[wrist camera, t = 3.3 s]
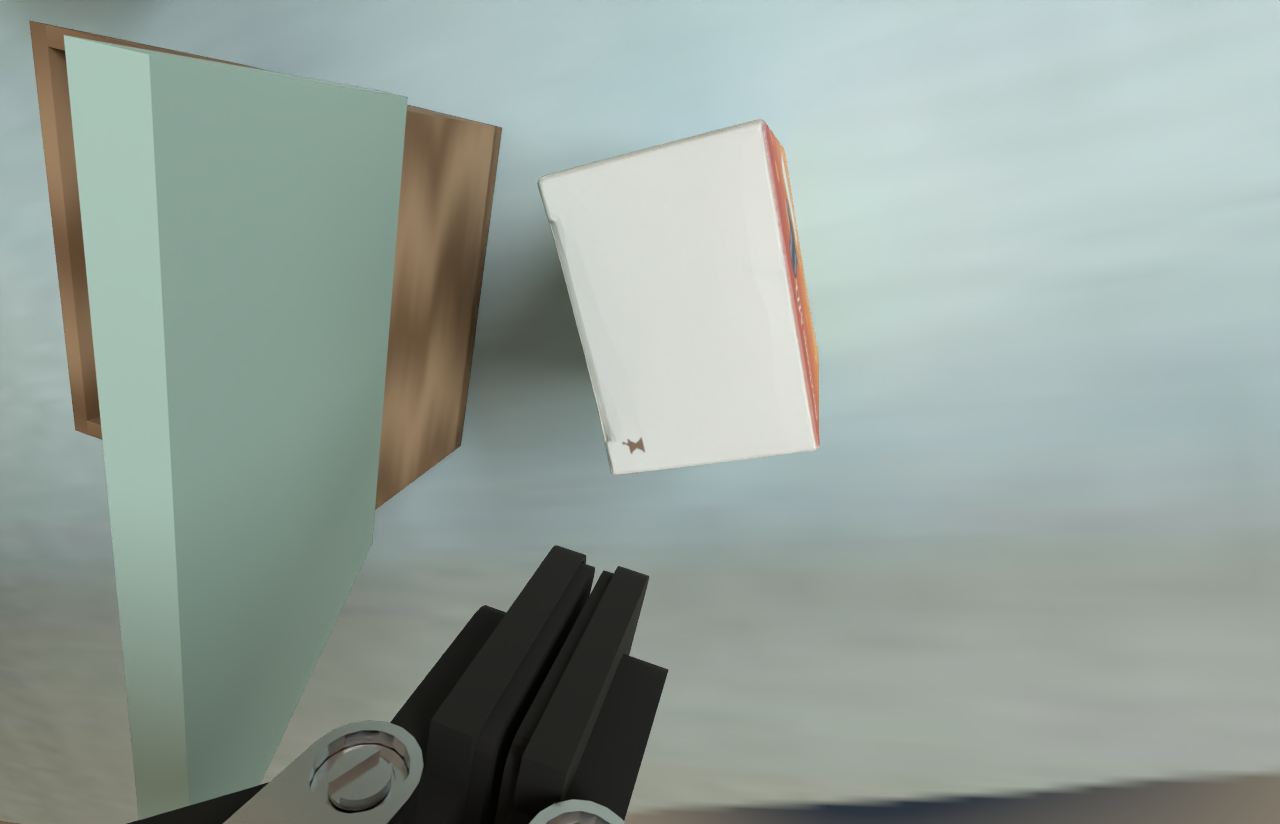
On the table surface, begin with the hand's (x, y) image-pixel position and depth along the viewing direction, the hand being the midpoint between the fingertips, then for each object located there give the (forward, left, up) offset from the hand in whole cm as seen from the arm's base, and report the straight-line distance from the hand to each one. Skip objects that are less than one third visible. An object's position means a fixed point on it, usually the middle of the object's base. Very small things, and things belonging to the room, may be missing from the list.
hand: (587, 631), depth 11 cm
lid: (0, -8, -3) cm, 9 cm away
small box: (-4, -1, -17) cm, 18 cm away
